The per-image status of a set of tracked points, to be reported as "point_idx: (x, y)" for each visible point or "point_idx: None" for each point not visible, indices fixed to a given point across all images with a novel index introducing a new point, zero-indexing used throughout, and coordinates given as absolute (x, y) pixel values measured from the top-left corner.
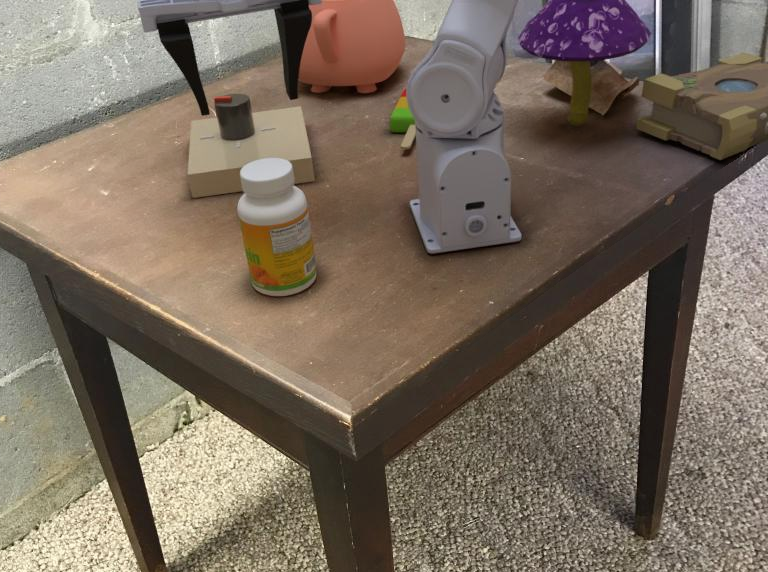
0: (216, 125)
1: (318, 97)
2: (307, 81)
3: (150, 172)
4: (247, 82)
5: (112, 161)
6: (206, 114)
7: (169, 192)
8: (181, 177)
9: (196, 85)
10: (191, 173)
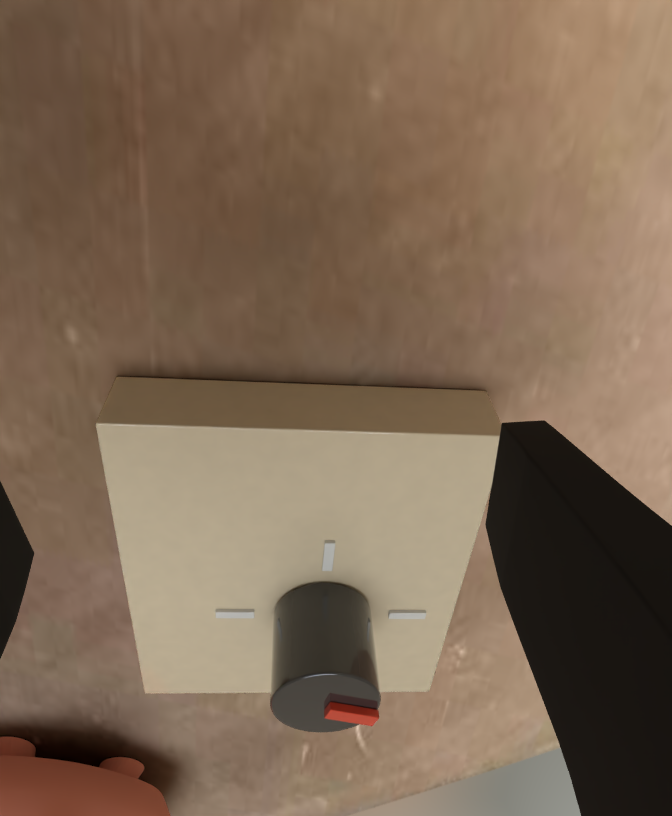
0: None
1: (125, 742)
2: (140, 785)
3: None
4: (278, 810)
5: None
6: (522, 424)
7: None
8: None
9: (650, 542)
10: (493, 437)
